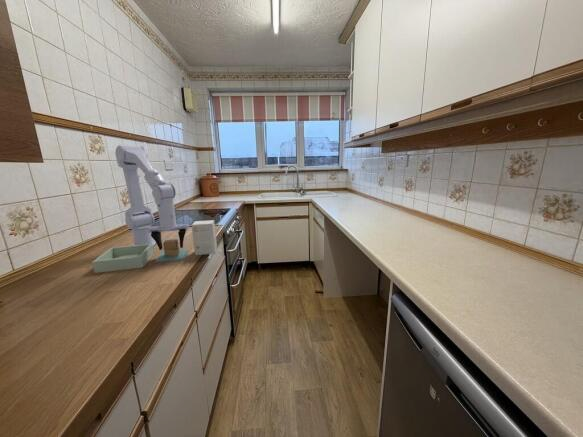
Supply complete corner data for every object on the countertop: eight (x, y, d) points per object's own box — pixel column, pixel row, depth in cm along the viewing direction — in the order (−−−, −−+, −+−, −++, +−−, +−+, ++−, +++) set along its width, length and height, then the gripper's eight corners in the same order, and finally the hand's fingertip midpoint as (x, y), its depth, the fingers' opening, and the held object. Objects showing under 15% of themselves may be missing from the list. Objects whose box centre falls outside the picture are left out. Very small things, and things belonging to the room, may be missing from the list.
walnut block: (167, 253, 100) (165, 239, 98) (179, 252, 101) (177, 238, 100) (165, 257, 96) (163, 243, 94) (177, 256, 97) (175, 242, 95)
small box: (217, 248, 106) (214, 219, 103) (215, 253, 100) (212, 223, 97) (198, 250, 105) (194, 220, 102) (194, 255, 99) (191, 224, 96)
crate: (113, 258, 99) (111, 247, 98) (154, 253, 102) (152, 243, 101) (94, 273, 85) (92, 261, 84) (142, 268, 88) (140, 256, 87)
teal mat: (162, 253, 102) (161, 252, 102) (187, 250, 104) (187, 249, 104) (155, 262, 92) (155, 261, 92) (183, 259, 95) (183, 258, 95)
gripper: (143, 218, 89) (148, 253, 92) (185, 216, 93) (189, 249, 96) (148, 214, 96) (153, 247, 99) (188, 212, 99) (191, 243, 102)
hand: (171, 248), depth 98 cm, fingers open, 7 cm apart
